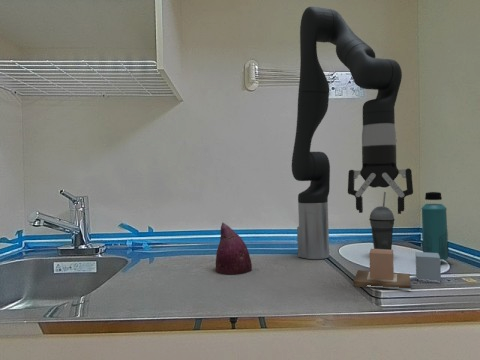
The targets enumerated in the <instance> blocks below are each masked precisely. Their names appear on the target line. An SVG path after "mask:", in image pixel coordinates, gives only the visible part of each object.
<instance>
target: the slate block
mask: <svg viewBox="0 0 480 360" xmlns="http://www.w3.org/2000/svg"><path fill="white" fill-rule="evenodd" d="M414 253H415V278H416V277H417V278H418V279H429V280H437V281H441V282H442V278H441V276H442V274H441V272H442V271H441V260H440V256H439V254H438V253H426V252H423V251H415V252H414ZM417 278H416V279H417Z"/></svg>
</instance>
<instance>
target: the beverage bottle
mask: <svg viewBox="0 0 480 360" xmlns="http://www.w3.org/2000/svg"><path fill="white" fill-rule="evenodd" d="M424 195H425V197H424V199H425V200H426V201H441V200H442V199H443V198H442V192H439V191H429V192H425V194H424ZM447 216H448V215H447V207H446V206H445V205H444V204H443V203H426V204H424V205H422V207H421V220H422V221H421V224H422V225H421V233H422V241H421V243H422V252H426V253H438V254H439V256H440V261H442V260H447V259H448V258H449V255H450V254H449V250H450V249H449V248H450V246H449V241H448V240H449V232H448V219H447V218H448V217H447Z"/></svg>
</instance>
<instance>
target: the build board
mask: <svg viewBox="0 0 480 360" xmlns="http://www.w3.org/2000/svg"><path fill="white" fill-rule="evenodd" d="M367 285H371V286H383V287H399V288H411V287H412V285H411V274H410V273H401V272H394V279H393V280H382V279H370V270H364V269H363V270H361V269H357V272H356V274H355V276H354V278H353V284H352V286H353V287H359V288H367V287H366V286H367ZM411 289H412V288H411Z"/></svg>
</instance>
